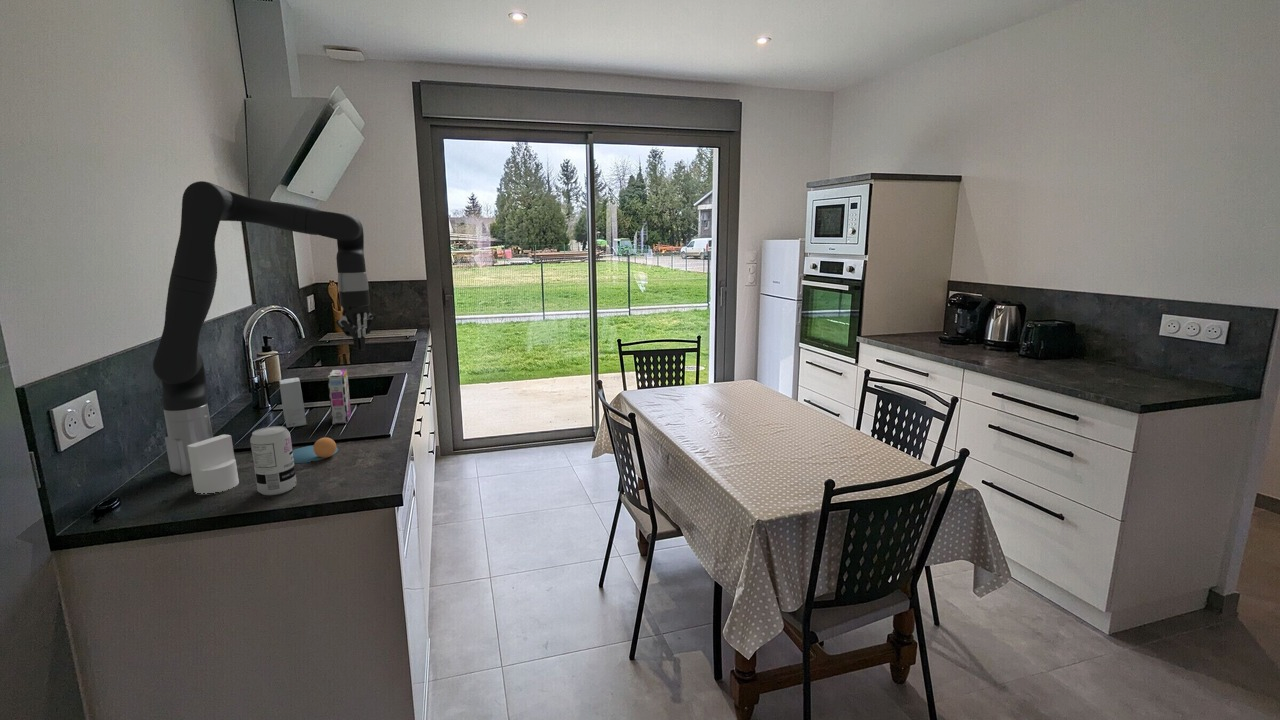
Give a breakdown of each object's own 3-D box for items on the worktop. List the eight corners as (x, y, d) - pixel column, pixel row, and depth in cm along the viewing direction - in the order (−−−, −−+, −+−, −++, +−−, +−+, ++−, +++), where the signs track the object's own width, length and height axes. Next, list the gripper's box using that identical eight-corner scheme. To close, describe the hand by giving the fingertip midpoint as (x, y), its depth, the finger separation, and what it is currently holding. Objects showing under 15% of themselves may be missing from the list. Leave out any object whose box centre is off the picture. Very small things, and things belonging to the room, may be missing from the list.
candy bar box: (349, 423, 194) (343, 375, 191) (332, 425, 192) (326, 376, 189) (352, 414, 204) (347, 368, 201) (336, 415, 203) (331, 369, 199)
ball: (306, 456, 161) (326, 464, 162) (313, 439, 160) (332, 447, 161) (317, 447, 167) (336, 455, 167) (323, 431, 165) (342, 439, 166)
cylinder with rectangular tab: (223, 477, 151) (216, 432, 148) (247, 482, 147) (240, 437, 145) (185, 491, 142) (177, 444, 140) (210, 496, 139) (202, 448, 137)
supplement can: (254, 489, 143) (245, 430, 140) (291, 479, 149) (284, 423, 146) (262, 499, 138) (253, 438, 135) (301, 489, 143) (293, 430, 140)
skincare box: (307, 425, 192) (301, 381, 189) (285, 428, 189) (279, 383, 186) (304, 418, 199) (299, 376, 196) (284, 421, 196) (278, 378, 193)
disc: (302, 466, 157) (301, 465, 157) (271, 457, 164) (270, 457, 164) (348, 450, 169) (348, 449, 169) (318, 442, 176) (318, 441, 176)
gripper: (360, 286, 169) (366, 345, 173) (323, 290, 157) (330, 354, 160) (382, 287, 167) (387, 347, 170) (346, 291, 155) (352, 355, 158)
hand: (360, 350), depth 165 cm, fingers closed
